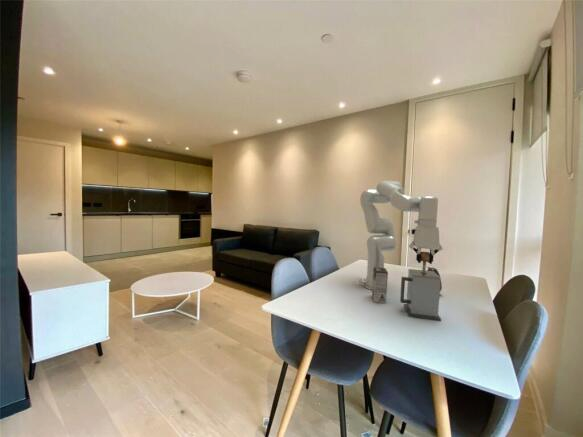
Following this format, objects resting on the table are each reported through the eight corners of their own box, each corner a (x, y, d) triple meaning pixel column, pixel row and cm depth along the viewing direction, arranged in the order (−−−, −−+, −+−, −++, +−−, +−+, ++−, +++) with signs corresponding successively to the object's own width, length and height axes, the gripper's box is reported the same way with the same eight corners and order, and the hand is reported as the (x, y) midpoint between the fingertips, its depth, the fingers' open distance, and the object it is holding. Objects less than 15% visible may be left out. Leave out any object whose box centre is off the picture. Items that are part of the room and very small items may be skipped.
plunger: (413, 297, 115) (416, 253, 113) (409, 291, 123) (412, 249, 122) (435, 300, 112) (438, 255, 111) (430, 293, 121) (433, 251, 120)
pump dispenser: (436, 291, 150) (437, 265, 149) (444, 297, 140) (446, 270, 139) (418, 289, 151) (419, 264, 150) (425, 296, 141) (427, 269, 140)
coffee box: (371, 295, 139) (373, 266, 138) (383, 297, 137) (385, 267, 136) (373, 302, 130) (375, 271, 129) (386, 303, 128) (388, 272, 127)
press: (402, 315, 114) (404, 274, 113) (397, 304, 127) (400, 267, 126) (440, 321, 110) (444, 278, 109) (432, 309, 123) (435, 270, 122)
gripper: (408, 223, 114) (406, 263, 115) (450, 225, 110) (447, 266, 111) (405, 222, 121) (403, 259, 123) (444, 223, 117) (442, 262, 118)
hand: (424, 262), depth 117 cm, fingers closed on plunger, 4 cm apart
